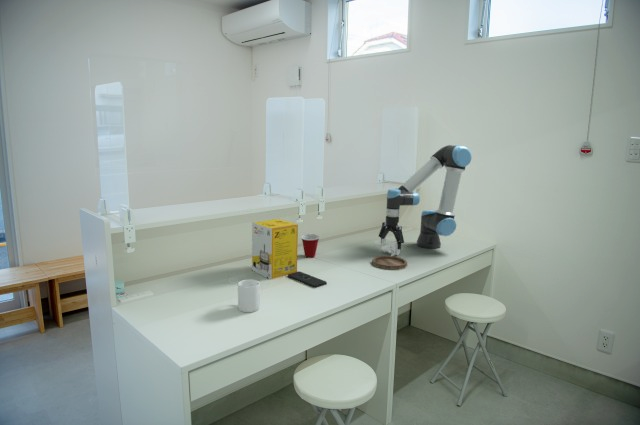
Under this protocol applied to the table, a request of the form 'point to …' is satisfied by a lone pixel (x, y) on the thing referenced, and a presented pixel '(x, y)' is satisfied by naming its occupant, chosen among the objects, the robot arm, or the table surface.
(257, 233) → the packaging box
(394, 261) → the coaster
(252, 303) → the mug
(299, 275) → the smart home device
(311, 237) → the plastic cup
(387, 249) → the white piece
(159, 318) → the table surface
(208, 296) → the table surface
